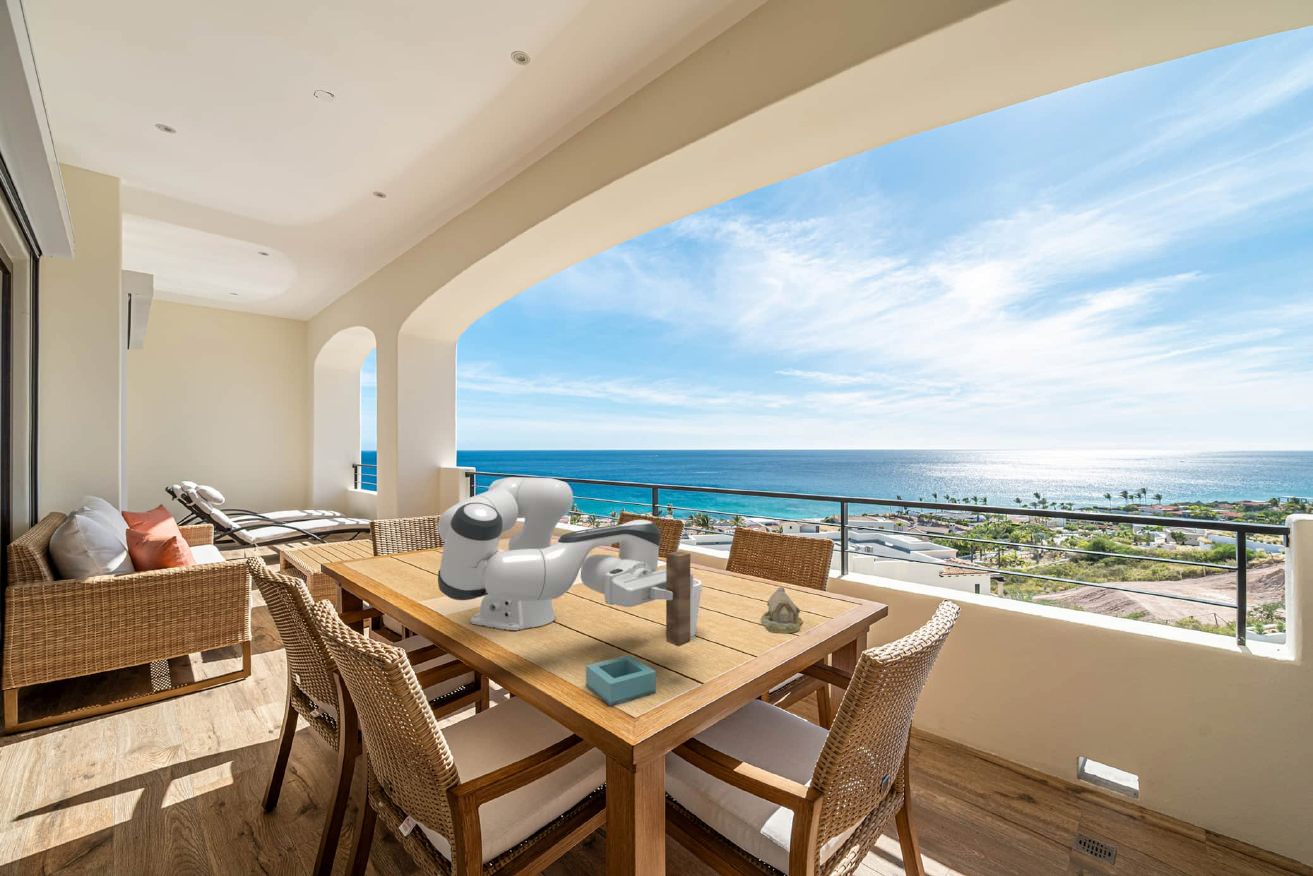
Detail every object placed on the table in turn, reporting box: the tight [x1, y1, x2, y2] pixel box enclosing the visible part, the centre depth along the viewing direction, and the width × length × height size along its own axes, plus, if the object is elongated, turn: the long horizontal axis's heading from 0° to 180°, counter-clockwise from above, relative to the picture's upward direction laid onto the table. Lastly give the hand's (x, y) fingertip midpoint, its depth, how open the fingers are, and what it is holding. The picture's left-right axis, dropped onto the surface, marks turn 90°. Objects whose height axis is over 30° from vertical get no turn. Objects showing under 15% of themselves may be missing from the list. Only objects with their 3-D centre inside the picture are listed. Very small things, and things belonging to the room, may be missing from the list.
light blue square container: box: [585, 654, 657, 707], centre depth 105 cm, size 10×10×4 cm
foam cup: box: [690, 578, 703, 638], centre depth 136 cm, size 10×9×13 cm
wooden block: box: [665, 550, 691, 647], centre depth 109 cm, size 4×4×18 cm
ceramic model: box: [760, 586, 803, 634], centre depth 143 cm, size 14×11×10 cm
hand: (681, 593), depth 109 cm, fingers closed on wooden block, 3 cm apart
